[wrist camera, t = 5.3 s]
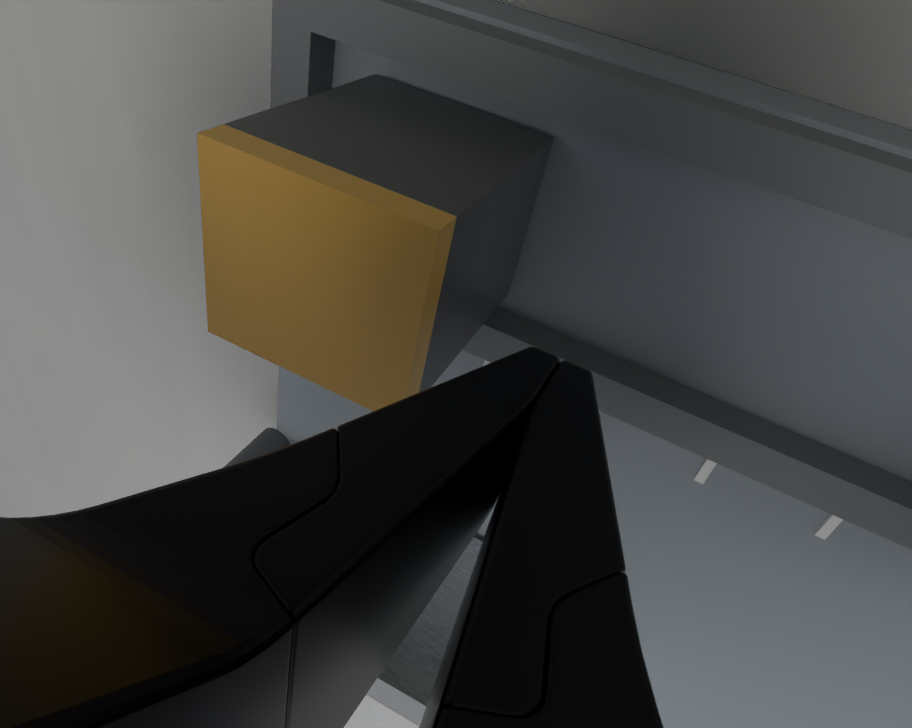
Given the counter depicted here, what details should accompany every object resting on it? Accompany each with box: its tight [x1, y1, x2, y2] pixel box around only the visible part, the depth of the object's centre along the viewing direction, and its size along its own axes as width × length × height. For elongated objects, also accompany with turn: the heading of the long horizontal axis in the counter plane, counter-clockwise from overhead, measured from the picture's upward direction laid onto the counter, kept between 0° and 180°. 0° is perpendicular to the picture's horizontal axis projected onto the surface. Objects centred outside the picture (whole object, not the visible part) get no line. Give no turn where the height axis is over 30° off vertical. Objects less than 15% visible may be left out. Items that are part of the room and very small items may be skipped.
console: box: [225, 0, 912, 728], centre depth 13 cm, size 22×16×6 cm
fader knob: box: [197, 74, 554, 411], centre depth 11 cm, size 4×3×4 cm
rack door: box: [366, 537, 482, 727], centre depth 16 cm, size 10×2×4 cm, turn 77°
